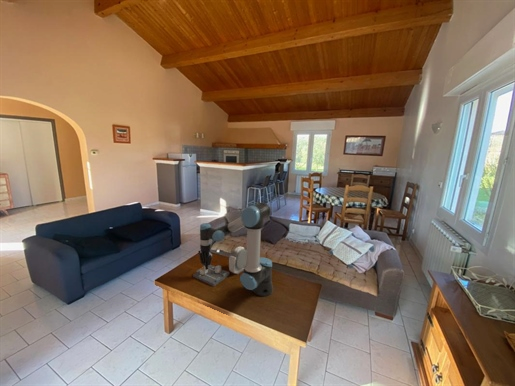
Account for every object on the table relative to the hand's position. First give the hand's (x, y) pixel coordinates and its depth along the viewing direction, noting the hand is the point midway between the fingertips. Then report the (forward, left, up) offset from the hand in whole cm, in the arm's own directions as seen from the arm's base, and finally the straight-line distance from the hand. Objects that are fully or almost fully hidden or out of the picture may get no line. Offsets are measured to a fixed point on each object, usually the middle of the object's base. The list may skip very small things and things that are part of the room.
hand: (205, 272), depth 166 cm
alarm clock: (-16, -22, -4) cm, 27 cm away
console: (-3, -4, -4) cm, 6 cm away
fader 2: (-6, -8, -1) cm, 10 cm away
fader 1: (+2, 0, -1) cm, 3 cm away
